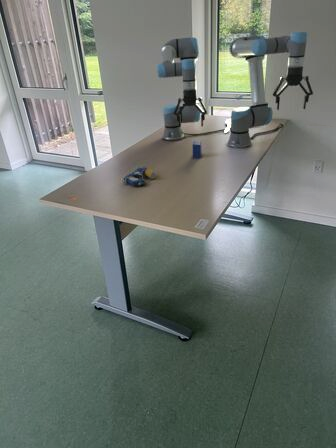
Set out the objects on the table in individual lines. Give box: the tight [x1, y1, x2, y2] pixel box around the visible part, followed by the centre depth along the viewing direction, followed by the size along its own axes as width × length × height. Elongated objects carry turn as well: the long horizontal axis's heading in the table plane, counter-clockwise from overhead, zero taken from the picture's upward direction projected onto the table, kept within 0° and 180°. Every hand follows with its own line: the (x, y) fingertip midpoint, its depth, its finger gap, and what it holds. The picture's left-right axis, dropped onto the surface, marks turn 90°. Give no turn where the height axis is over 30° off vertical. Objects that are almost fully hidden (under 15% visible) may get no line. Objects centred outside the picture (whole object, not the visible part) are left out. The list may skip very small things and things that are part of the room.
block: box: [192, 141, 203, 159], centre depth 209 cm, size 5×6×9 cm
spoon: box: [223, 117, 231, 134], centre depth 262 cm, size 35×11×2 cm, turn 159°
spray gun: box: [122, 166, 157, 187], centre depth 186 cm, size 21×4×15 cm
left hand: (191, 126), depth 203 cm, fingers open, 13 cm apart
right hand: (290, 109), depth 182 cm, fingers open, 13 cm apart
